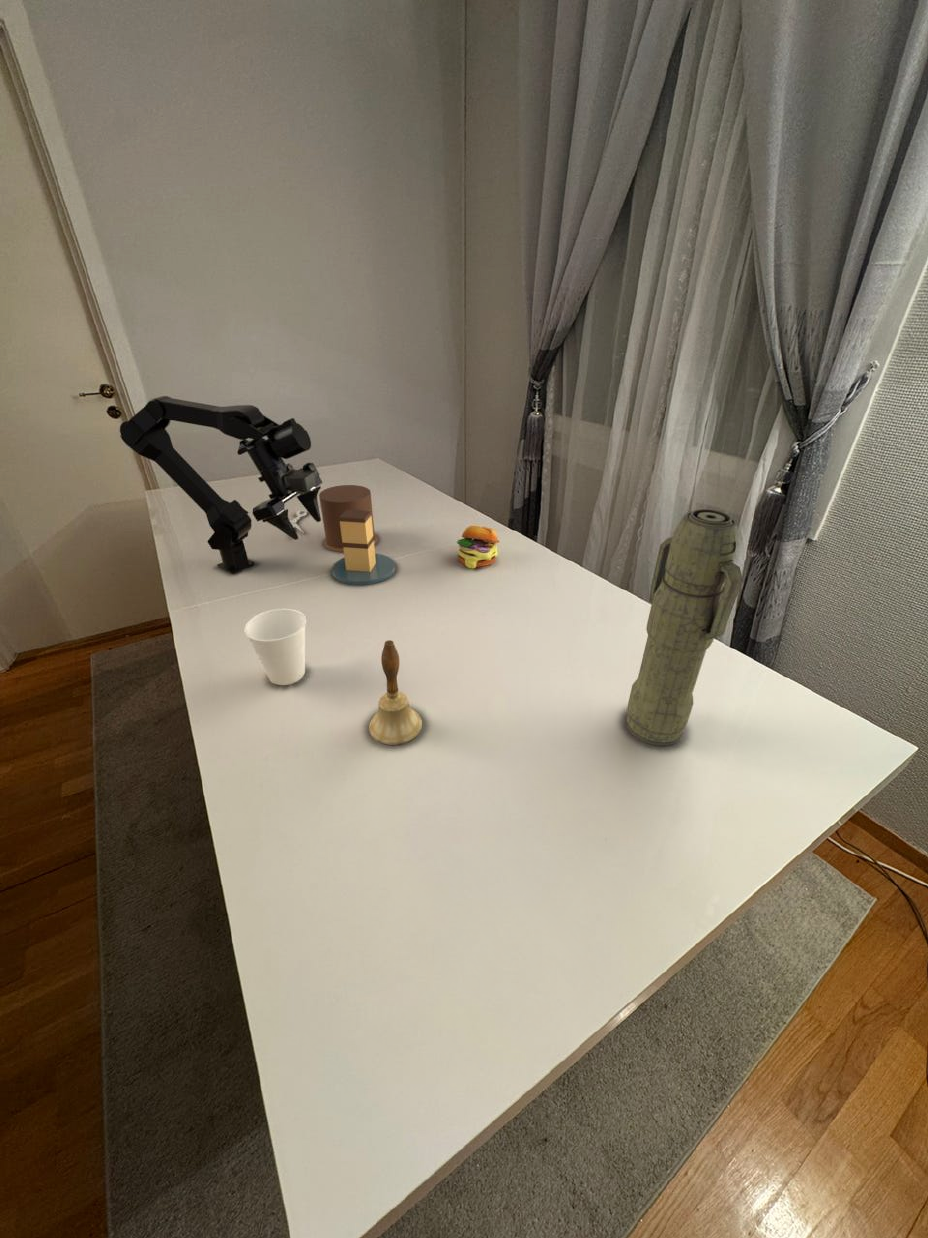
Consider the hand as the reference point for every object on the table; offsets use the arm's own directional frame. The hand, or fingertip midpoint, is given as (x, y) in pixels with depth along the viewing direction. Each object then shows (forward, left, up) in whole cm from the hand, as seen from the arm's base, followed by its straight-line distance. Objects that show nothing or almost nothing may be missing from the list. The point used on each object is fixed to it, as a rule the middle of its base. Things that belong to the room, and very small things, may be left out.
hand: (308, 530), depth 119 cm
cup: (+27, -29, -11) cm, 41 cm away
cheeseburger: (+28, +29, -11) cm, 41 cm away
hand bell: (+51, -27, -11) cm, 58 cm away
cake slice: (+8, +7, -10) cm, 15 cm away
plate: (+9, +8, -11) cm, 16 cm away
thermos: (+84, -3, -11) cm, 84 cm away
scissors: (-28, +16, -11) cm, 34 cm away
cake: (-6, +18, -11) cm, 22 cm away
